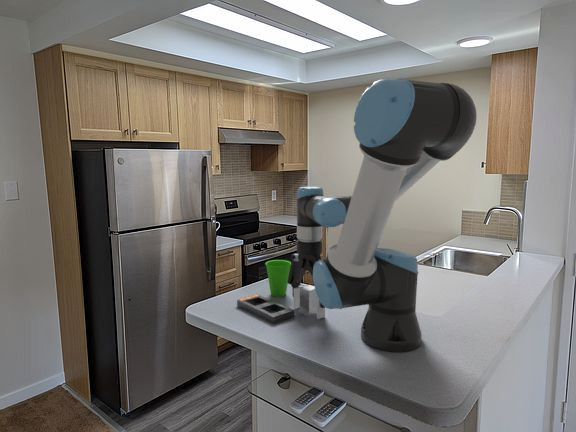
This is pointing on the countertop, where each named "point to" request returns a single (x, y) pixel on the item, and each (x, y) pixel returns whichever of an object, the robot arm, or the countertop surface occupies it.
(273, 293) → the cup
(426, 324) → the countertop surface
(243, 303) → the dark grey flat frame
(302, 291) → the gray squarish block
